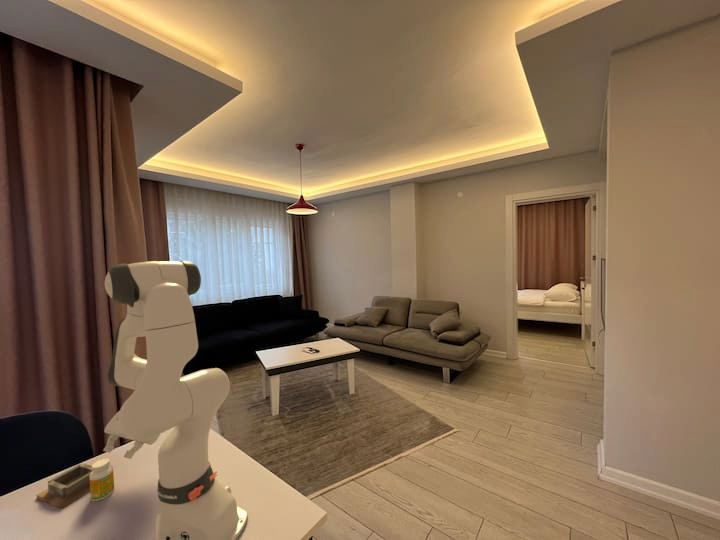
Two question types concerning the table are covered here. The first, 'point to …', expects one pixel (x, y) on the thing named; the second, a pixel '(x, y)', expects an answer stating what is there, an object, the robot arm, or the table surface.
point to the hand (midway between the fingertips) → (116, 455)
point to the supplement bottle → (101, 480)
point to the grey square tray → (67, 486)
